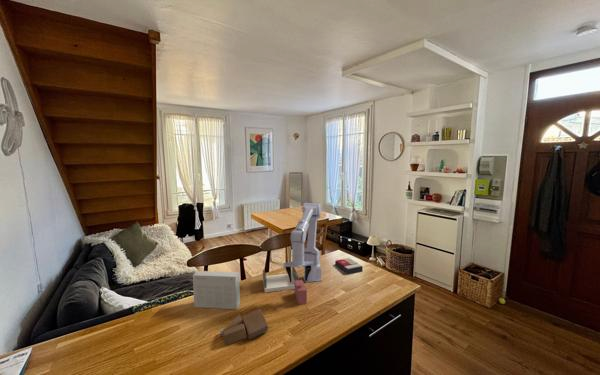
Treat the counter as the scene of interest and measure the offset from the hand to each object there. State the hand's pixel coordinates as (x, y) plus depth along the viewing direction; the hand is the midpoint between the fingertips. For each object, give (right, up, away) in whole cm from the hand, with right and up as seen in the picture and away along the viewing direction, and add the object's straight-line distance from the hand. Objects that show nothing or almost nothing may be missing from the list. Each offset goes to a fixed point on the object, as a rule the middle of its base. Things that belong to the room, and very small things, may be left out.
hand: (298, 280), depth 122 cm
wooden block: (-22, -13, -21) cm, 33 cm away
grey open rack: (-10, -8, +16) cm, 20 cm away
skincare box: (-39, -10, -4) cm, 40 cm away
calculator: (+32, -6, +35) cm, 48 cm away
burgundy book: (+1, -9, +2) cm, 10 cm away
